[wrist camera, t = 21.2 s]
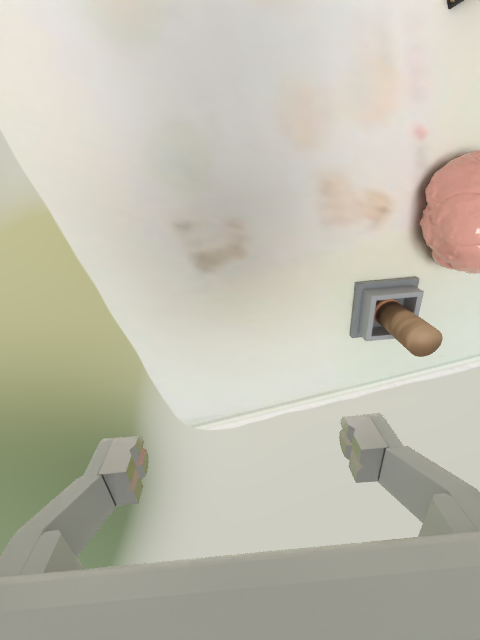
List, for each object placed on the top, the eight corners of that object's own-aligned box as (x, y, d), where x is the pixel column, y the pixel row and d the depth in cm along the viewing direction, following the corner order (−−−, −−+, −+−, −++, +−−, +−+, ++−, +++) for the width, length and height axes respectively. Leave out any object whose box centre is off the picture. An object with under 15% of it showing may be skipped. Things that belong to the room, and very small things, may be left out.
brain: (391, 193, 44) (436, 152, 32) (475, 160, 43) (555, 105, 31) (423, 288, 45) (479, 284, 33) (508, 259, 43) (600, 244, 31)
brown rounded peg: (371, 298, 47) (411, 329, 37) (399, 295, 46) (446, 325, 37) (369, 323, 49) (405, 359, 39) (395, 320, 49) (439, 355, 39)
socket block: (355, 282, 46) (366, 290, 43) (415, 276, 46) (431, 284, 43) (349, 335, 51) (359, 346, 47) (404, 330, 51) (418, 341, 47)
